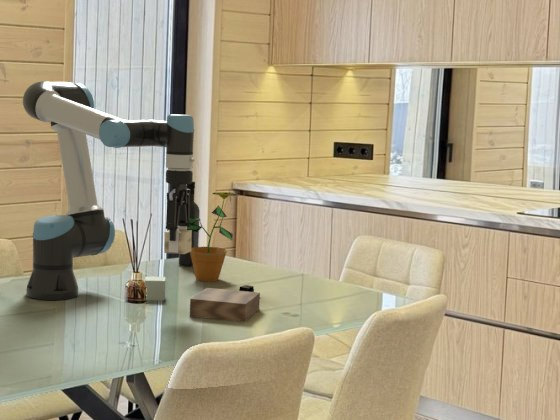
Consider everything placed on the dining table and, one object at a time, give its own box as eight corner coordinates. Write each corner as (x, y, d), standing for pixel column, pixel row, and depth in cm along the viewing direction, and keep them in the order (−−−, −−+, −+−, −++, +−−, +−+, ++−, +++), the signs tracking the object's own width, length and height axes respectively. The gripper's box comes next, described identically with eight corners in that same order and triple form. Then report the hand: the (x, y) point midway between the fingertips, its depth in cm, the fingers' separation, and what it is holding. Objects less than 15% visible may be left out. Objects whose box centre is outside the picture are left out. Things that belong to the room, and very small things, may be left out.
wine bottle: (177, 265, 344) (180, 181, 340) (184, 262, 349) (187, 180, 345) (191, 266, 342) (194, 182, 338) (198, 264, 347) (201, 181, 343)
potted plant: (245, 279, 324) (248, 190, 320) (211, 287, 308) (215, 194, 305) (202, 271, 334) (205, 185, 330) (168, 279, 318) (171, 189, 314)
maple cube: (164, 252, 271) (164, 231, 270) (171, 249, 277) (171, 229, 276) (184, 254, 270) (184, 233, 269) (191, 251, 275) (191, 230, 275)
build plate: (245, 306, 286) (246, 291, 286) (224, 302, 290) (225, 287, 289) (266, 299, 297) (266, 284, 296) (245, 295, 301) (246, 281, 300)
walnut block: (189, 316, 268) (190, 298, 268) (206, 304, 284) (207, 287, 283) (244, 321, 265) (245, 304, 264) (259, 309, 280) (259, 292, 280)
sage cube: (144, 300, 286) (145, 280, 285) (144, 295, 292) (145, 276, 291) (164, 300, 287) (165, 280, 286) (164, 296, 293) (165, 276, 292)
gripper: (180, 172, 260) (178, 256, 263) (202, 167, 279) (200, 246, 282) (154, 170, 262) (153, 254, 265) (178, 166, 281) (176, 244, 283)
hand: (177, 250), depth 273 cm, fingers closed on maple cube, 6 cm apart
